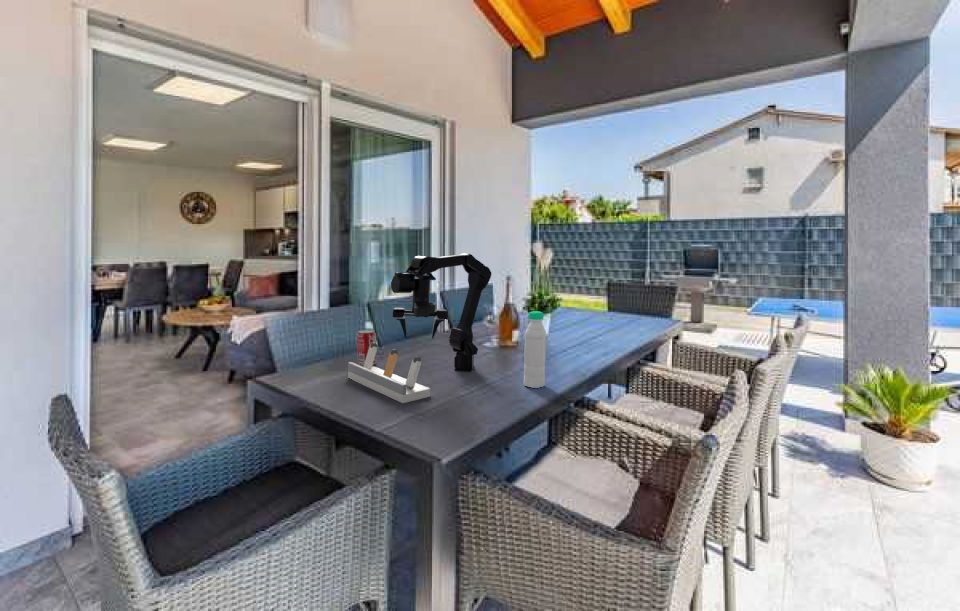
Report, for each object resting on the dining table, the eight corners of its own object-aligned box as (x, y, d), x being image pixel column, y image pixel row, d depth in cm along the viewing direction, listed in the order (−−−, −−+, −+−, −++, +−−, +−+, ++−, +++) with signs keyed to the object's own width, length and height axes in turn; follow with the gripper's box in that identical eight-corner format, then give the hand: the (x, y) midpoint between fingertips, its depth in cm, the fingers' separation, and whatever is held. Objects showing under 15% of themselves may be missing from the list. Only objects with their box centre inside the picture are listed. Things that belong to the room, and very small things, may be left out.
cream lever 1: (367, 370, 171) (375, 342, 172) (371, 372, 169) (380, 343, 170) (361, 369, 170) (369, 340, 171) (365, 371, 167) (374, 342, 168)
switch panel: (374, 373, 176) (373, 358, 175) (430, 396, 151) (430, 379, 150) (348, 378, 169) (347, 362, 169) (402, 403, 144) (402, 385, 144)
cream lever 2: (409, 387, 152) (418, 356, 153) (415, 390, 150) (424, 358, 151) (402, 386, 150) (412, 354, 152) (408, 388, 148) (418, 356, 149)
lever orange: (386, 378, 162) (395, 348, 163) (392, 380, 159) (400, 350, 160) (380, 377, 160) (389, 347, 161) (386, 379, 158) (394, 349, 159)
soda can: (371, 367, 184) (371, 333, 182) (354, 366, 185) (353, 332, 183) (379, 362, 191) (379, 329, 189) (362, 361, 192) (361, 328, 190)
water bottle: (531, 390, 158) (533, 314, 155) (519, 384, 165) (521, 310, 161) (548, 387, 162) (551, 312, 158) (536, 381, 168) (539, 309, 164)
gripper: (393, 294, 157) (391, 341, 159) (451, 296, 161) (448, 343, 162) (393, 291, 168) (391, 336, 170) (447, 293, 172) (444, 337, 173)
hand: (418, 338), depth 169 cm, fingers open, 9 cm apart
